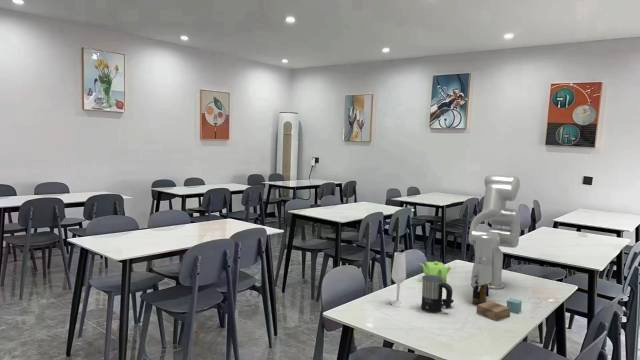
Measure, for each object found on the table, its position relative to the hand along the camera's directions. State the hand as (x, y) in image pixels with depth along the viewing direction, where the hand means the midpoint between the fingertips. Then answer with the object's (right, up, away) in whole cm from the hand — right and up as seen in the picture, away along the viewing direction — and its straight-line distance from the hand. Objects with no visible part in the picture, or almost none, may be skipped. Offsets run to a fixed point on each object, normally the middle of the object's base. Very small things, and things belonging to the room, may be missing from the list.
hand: (480, 297), depth 211 cm
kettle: (-14, 0, +32) cm, 35 cm away
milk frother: (-23, -3, -7) cm, 24 cm away
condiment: (0, -3, 0) cm, 3 cm away
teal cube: (+12, -4, -8) cm, 15 cm away
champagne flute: (-41, -2, -4) cm, 41 cm away
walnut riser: (0, -4, -14) cm, 15 cm away
